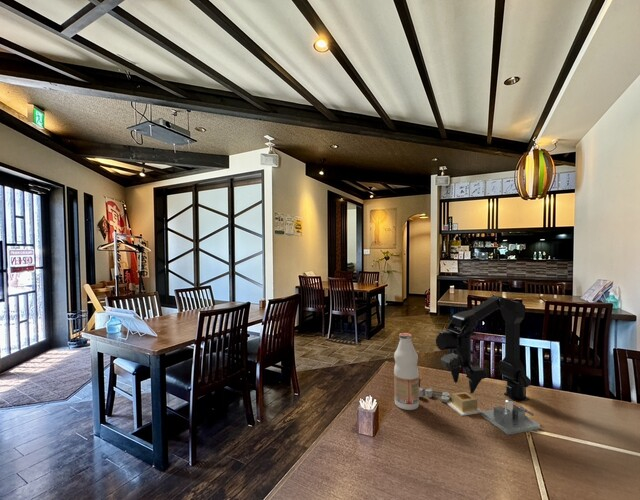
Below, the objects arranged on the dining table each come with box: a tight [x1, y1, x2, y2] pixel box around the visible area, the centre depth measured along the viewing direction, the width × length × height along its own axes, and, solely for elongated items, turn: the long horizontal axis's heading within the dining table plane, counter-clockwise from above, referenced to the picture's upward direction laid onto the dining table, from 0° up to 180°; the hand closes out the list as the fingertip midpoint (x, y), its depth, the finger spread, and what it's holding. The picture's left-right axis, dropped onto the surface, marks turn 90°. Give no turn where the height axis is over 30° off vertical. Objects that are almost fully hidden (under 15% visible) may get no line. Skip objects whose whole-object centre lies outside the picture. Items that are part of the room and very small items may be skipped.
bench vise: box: [480, 398, 541, 436], centre depth 109 cm, size 14×12×8 cm
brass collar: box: [451, 391, 478, 412], centre depth 118 cm, size 6×6×4 cm
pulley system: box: [419, 387, 451, 404], centre depth 134 cm, size 27×5×15 cm
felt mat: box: [446, 401, 483, 417], centre depth 118 cm, size 9×9×1 cm
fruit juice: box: [393, 332, 420, 411], centre depth 122 cm, size 9×9×28 cm
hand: (463, 387), depth 118 cm, fingers open, 9 cm apart
